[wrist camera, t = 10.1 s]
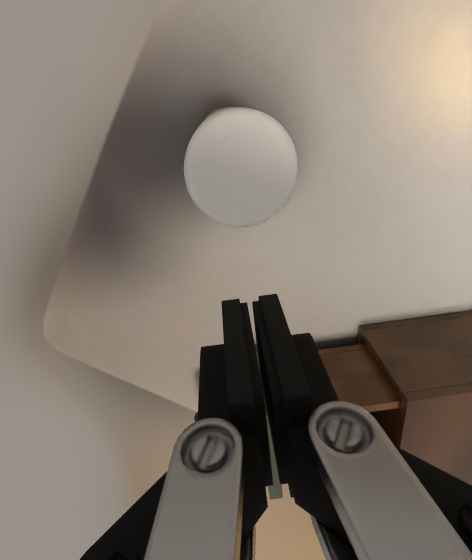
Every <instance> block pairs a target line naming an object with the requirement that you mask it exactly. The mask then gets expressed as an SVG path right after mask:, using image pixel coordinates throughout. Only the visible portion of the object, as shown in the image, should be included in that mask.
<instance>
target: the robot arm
mask: <svg viewBox="0 0 472 560" xmlns="http://www.w3.org/2000/svg"><path fill="white" fill-rule="evenodd" d="M253 313H254V322H255V332H256V341H257V351H258V360H259V366H258V361H257V355H256V350H255V344H254V339H253V333H252V328H251V322H250V317H249V311H248V305H247V303H240V300H239V299H233V300H226V301H222V316H223V334H224V344H220V345H213V346H205V347H201V353H200V377H199V402H198V421H197V422H194V423H193V424H191V425H190V426H188V427H187V428H186V429H184V431H183V432H182V433H181V434H180V436H179V437H178V439H177V441H176V443H175V446H174V449H173V452H172V456H171V460H170V464H169V467H168V471H167V472H166V473H165V474H164V475H163V476H162V477H161V478H160V479H159V480H158V481H157V482H156V483H155V484H154V485H153V486H152V487H151V488H150V489H149V490H148V491H147V492H146V493H145V494H144V495H143V496H142V497H141V498H140V499H139V500H138V501H137V502H136V503H135V504H134V505H133V506H132V507H131V508H130V509H129V510H128V511H127V512H126V513H125V514H124V515H123V516H122V517H121V518H120V519H119V520H118V521H117V522H116V523H115V524H113V525H112V526H111V528H109V529H108V530H107V531H106V532H105V533H104V535H102V536H101V537H100V538H99V539H98V540H97V541H96V542H95V543H94V544H93V545H92V546H91V547H90V548H89V549H88V550H87V551H86V552H85V554H84V555H83V556H82V557H81V559H80V560H255V545H256V543H255V541H256V527H255V524H256V523H257V521H258V519H259V518H260V517H261V515H262V514H263V513H264V511H265V510H266V508H267V507H268V505H267V497H266V489H265V486H272V485H273V477H272V467H271V457H270V447H269V438H268V428H267V418H266V410H267V415H268V421H269V426H270V432H271V438H272V443H273V449H274V454H275V460H276V465H277V471H278V476H279V481H280V484H287V483H288V485H289V490H290V495H291V497H294V500H295V503H296V504H297V505H299V506H300V507H301V508H303V509H304V510H305V511H306V512H308V513H309V514H310V516H311V520H312V524H313V526H314V529H315V532H316V534H317V537H318V539H319V542H320V545H321V547H322V550H323V553H324V555H325V558H326V560H472V485H470V484H468V483H466V482H464V481H462V480H460V479H458V478H456V477H454V476H452V475H451V474H449V473H447V472H445V471H443V470H441V469H439V468H437V467H435V466H433V465H431V464H429V463H427V462H426V461H424V460H422V459H420V458H418V457H416V456H414V455H412V454H410V453H408V452H406V451H404V450H402V449H401V448H399V447H397V446H395V445H394V444H393V443H392V442H391V440H390V439H389V437H388V436H387V435H386V433H385V432H384V430H383V429H382V428H381V426H380V425H379V423H378V422H377V421H376V419H375V418H374V417H373V416H372V415H371V414H370V413H369V412H368V411H366V410H365V409H363V408H362V407H360V406H358V405H355V404H352V403H350V402H343V401H339V399H338V396H337V394H336V392H335V389H334V387H333V385H332V382H331V380H330V378H329V375H328V373H327V371H326V369H325V366H324V364H323V362H322V359H321V357H320V355H319V352H318V350H317V348H316V345H315V343H314V341H313V338H312V336H311V334H310V333H303V334H296V335H291V333H290V331H289V328H288V325H287V322H286V319H285V316H284V313H283V310H282V307H281V304H280V302H279V299H278V296H277V294H271V295H264V296H259V301H254V302H253ZM259 369H260V372H259ZM260 376H261V377H260ZM261 382H262V383H261ZM263 393H264V394H263ZM264 399H265V401H264ZM265 404H266V409H265Z"/></svg>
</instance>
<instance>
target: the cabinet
mask: <svg viewBox="0 0 472 560" xmlns="http://www.w3.org/2000/svg"><path fill="white" fill-rule="evenodd" d="M365 343H366V345H367V346H368V348H369V349H370V351H371V353H372V354H373V356H374V357H375V359H376V360H377V362H378V364H379V365H380V367H381V368H382V370H383V371H384V373H385V375H386V376H387V378H388V379H389V381H390V382H391V384H392V386H393V387H394V389H395V390H396V392H397V393H398V395H399V397H400V398H401V400H402V402H401V408H400V415H399V421H398V428H397V434H396V441H395V446H397V447H399V448H401V449H402V450H404V451H406V452H408V453H410V454H412V455H414V456H416V457H418V458H420V459H422V460H424V461H426V462H427V463H429V464H431V465H433V466H435V467H437V468H439V469H441V470H443V471H445V472H447V473H449V474H451V475H452V476H454V477H456V478H458V479H460V480H462V481H464V482H466V483H468V484H470V485H472V311H465V312H458V313H451V314H444V315H436V316H429V317H422V318H414V319H407V320H400V321H392V322H385V323H378V324H371V325H363V326H359V333H358V344H365Z"/></svg>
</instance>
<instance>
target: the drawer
mask: <svg viewBox="0 0 472 560" xmlns="http://www.w3.org/2000/svg"><path fill="white" fill-rule="evenodd" d="M318 352H319V355H320V357H321V359H322V362H323V364H324V366H325V369H326V371H327V373H328V375H329V378H330V380H331V382H332V385H333V387H334V389H335V392H336V394H337V396H338V399H339V401H343V402H350V403H352V404H355V405H358V406H360V407H362V408H363V409H365V410H366V411H368V412H369V413H370V414H371V415H372V416H373V417H374V418H375V419H376V421H377V422H378V423H379V425H380V426H381V428H382V429H383V430H384V432H385V433H386V435H387V436H388V437H389V439H390V440H391V442H392V443H393V444H394V445H395V441H396V434H397V428H398V421H399V415H400V408H401V402H402V400H401V398H400V397H399V395H398V393H397V392H396V390H395V389H394V387H393V386H392V384H391V382H390V381H389V379H388V378H387V376H386V375H385V373H384V371H383V370H382V368H381V367H380V365H379V364H378V362H377V360H376V359H375V357H374V356H373V354H372V353H371V351H370V349H369V348H368V346H367V345H366V343H365V344H358V345H351V346H343V347H336V348H329V349H322V350H318ZM256 355H257V361H258V366H259V360H258V351H256ZM259 372H260V369H259ZM260 377H261V376H260ZM261 383H262V382H261ZM263 394H264V393H263ZM264 401H265V399H264ZM265 409H266V404H265ZM266 418H267V428H268V438H269V447H270V457H271V467H272V477H273V485H272V486H268V489H269V496H270V499H278V498H282V497H283V496H282V487H281V484H280V481H279V476H278V471H277V465H276V460H275V454H274V449H273V443H272V438H271V432H270V426H269V421H268V415H267V410H266ZM194 419H195V422H197V421H198V412H197V413H196V414H195V417H194Z"/></svg>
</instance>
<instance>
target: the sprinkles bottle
mask: <svg viewBox="0 0 472 560" xmlns="http://www.w3.org/2000/svg"><path fill="white" fill-rule="evenodd" d="M297 173H298V160H297V154H296V150H295V147H294V144H293V142H292V140H291V138H290V136H289V134H288V133H287V131H286V130H285V129H284V128H283V126H282V125H281V124H280V123H279V122H278V121H276V120H275V119H274V118H272V117H271V116H269V115H267V114H265V113H263V112H261V111H258V110H255V109H251V108H245V107H229V106H227V107H222V108H217V109H215V110H213V111H212V112H211V113H209V114H208V115H207V116H206V117H205V118H204V120H203V121H202V123H201V124H200V126H199V127H198V128H197V129H196V131H195V133H194V134H193V136H192V138H191V140H190V142H189V145H188V147H187V151H186V154H185V161H184V177H185V182H186V186H187V189H188V192H189V194H190V196H191V198H192V200H193V201H194V203H195V204H196V206H197V207H198V208H199V209H200V210H201V211H202V212H203V213H204V214H205V215H207V216H208V217H209V218H211V219H212V220H214V221H216V222H218V223H221V224H224V225H227V226H232V227H247V226H253V225H257V224H260V223H262V222H264V221H266V220H268V219H270V218H271V217H273V216H274V215H275V214H276V213H278V212H279V211H280V210H281V209H282V207H283V206H284V205H285V204H286V202H287V201H288V200H289V198H290V196H291V194H292V192H293V189H294V187H295V183H296V180H297Z"/></svg>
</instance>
